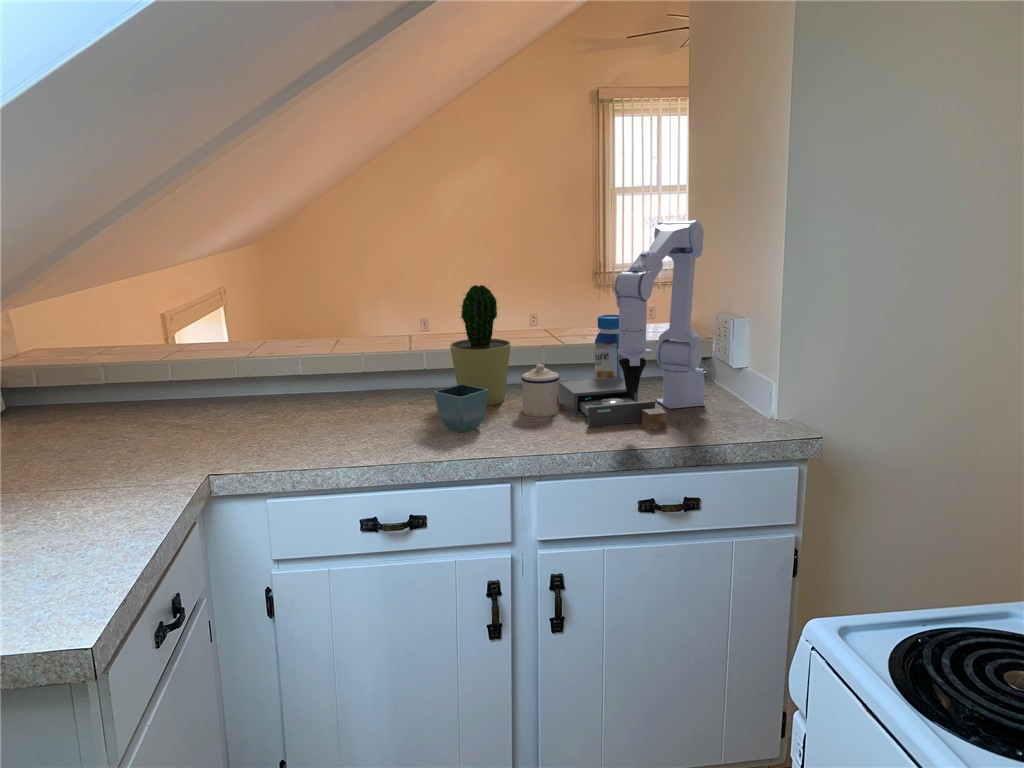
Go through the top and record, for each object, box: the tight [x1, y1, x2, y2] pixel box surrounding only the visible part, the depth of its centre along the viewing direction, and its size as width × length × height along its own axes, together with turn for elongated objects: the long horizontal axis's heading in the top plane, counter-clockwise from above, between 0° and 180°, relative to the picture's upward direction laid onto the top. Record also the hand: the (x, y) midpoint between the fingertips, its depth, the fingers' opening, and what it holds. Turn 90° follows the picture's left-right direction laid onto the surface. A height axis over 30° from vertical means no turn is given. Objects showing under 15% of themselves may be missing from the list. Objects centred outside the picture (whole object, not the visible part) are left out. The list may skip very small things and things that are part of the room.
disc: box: [600, 398, 624, 405], centre depth 172 cm, size 6×6×2 cm
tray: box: [579, 398, 656, 427], centre depth 171 cm, size 16×12×4 cm
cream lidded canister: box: [520, 363, 561, 418], centre depth 178 cm, size 12×9×12 cm
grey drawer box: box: [559, 377, 639, 417], centre depth 181 cm, size 16×13×5 cm
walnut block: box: [641, 407, 668, 430], centre depth 164 cm, size 4×4×4 cm
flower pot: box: [433, 384, 488, 434], centre depth 165 cm, size 9×9×9 cm
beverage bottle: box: [593, 314, 626, 380], centre depth 193 cm, size 8×8×20 cm
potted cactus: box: [449, 284, 512, 407], centre depth 186 cm, size 15×15×30 cm
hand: (631, 392), depth 159 cm, fingers closed
